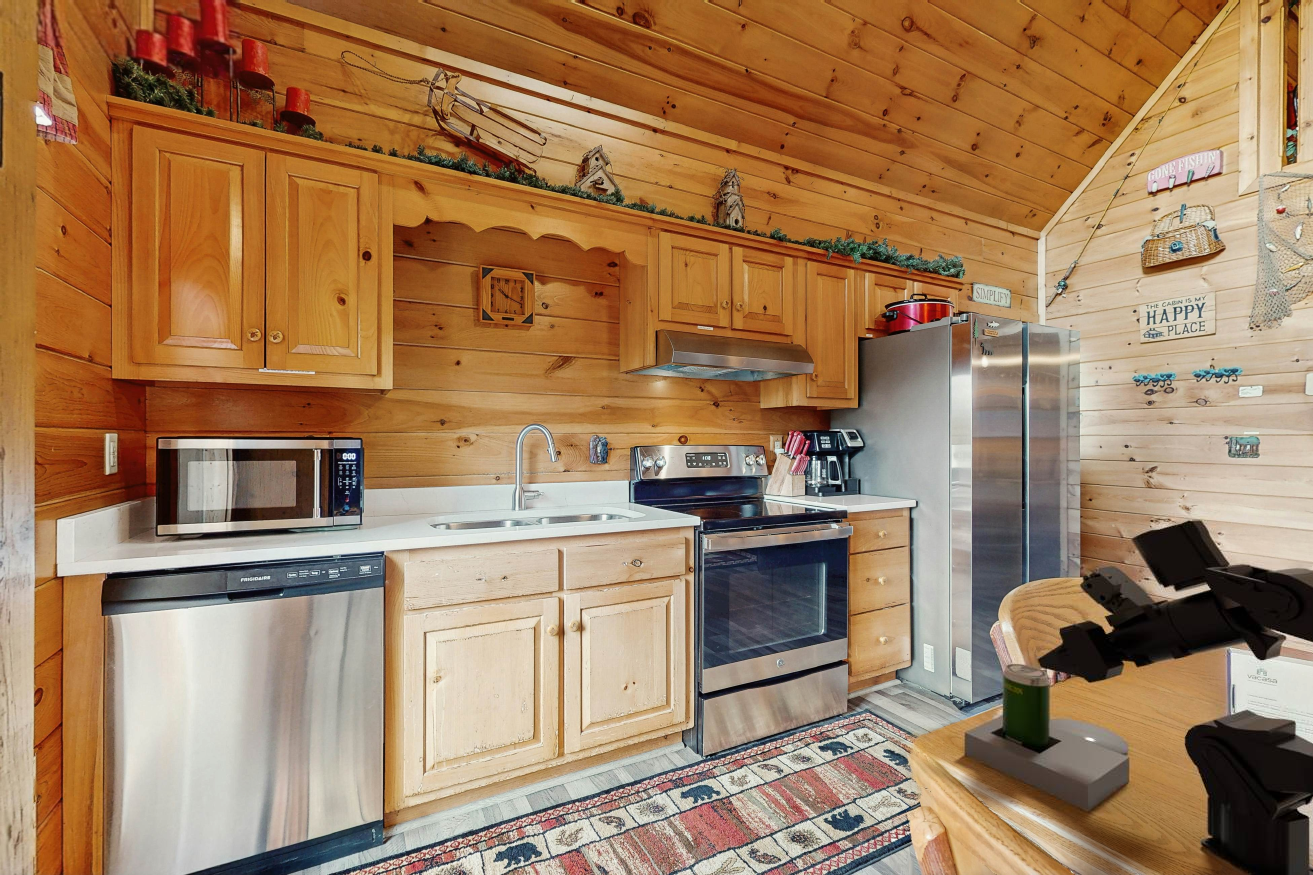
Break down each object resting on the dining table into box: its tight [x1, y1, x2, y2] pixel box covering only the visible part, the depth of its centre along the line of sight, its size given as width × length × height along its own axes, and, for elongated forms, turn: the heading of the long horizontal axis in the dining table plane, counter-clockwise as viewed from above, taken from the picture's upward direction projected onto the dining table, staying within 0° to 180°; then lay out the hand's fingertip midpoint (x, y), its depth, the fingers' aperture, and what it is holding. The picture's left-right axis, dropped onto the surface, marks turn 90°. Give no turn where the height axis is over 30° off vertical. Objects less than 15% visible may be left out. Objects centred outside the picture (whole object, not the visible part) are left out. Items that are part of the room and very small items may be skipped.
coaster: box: [1050, 718, 1130, 756], centre depth 84 cm, size 10×10×1 cm
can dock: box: [964, 714, 1130, 812], centre depth 76 cm, size 14×12×3 cm
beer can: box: [1002, 663, 1051, 754], centre depth 78 cm, size 5×5×12 cm
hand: (1060, 657), depth 77 cm, fingers open, 9 cm apart
